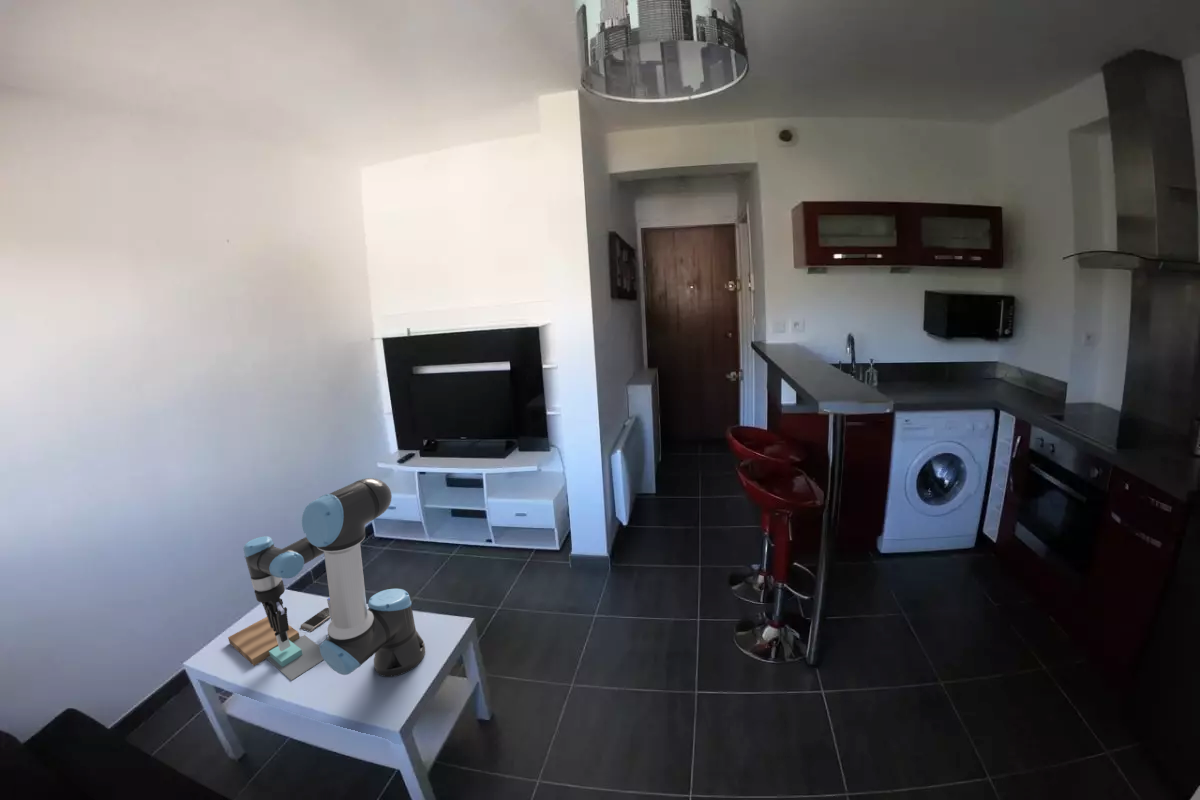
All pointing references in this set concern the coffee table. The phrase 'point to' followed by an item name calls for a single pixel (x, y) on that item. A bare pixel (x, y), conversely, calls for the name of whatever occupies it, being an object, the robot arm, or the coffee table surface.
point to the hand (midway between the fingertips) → (284, 647)
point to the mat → (300, 658)
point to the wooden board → (258, 640)
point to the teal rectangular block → (286, 654)
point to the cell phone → (316, 620)
